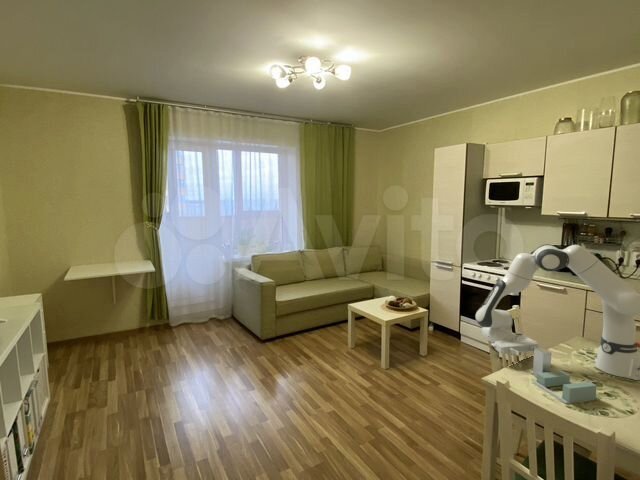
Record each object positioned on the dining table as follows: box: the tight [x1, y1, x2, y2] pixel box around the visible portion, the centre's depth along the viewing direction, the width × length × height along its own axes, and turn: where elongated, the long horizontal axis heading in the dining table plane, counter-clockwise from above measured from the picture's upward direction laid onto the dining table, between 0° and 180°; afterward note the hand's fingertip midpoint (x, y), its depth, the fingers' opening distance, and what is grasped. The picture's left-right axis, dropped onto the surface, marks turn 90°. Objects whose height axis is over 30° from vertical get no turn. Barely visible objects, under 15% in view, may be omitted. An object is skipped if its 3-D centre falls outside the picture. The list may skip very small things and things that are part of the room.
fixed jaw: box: [532, 380, 600, 405], centre depth 139 cm, size 15×16×6 cm
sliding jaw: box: [536, 370, 571, 388], centre depth 144 cm, size 12×4×4 cm, turn 100°
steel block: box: [532, 347, 552, 378], centre depth 150 cm, size 4×5×12 cm
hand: (528, 353), depth 157 cm, fingers open, 8 cm apart
